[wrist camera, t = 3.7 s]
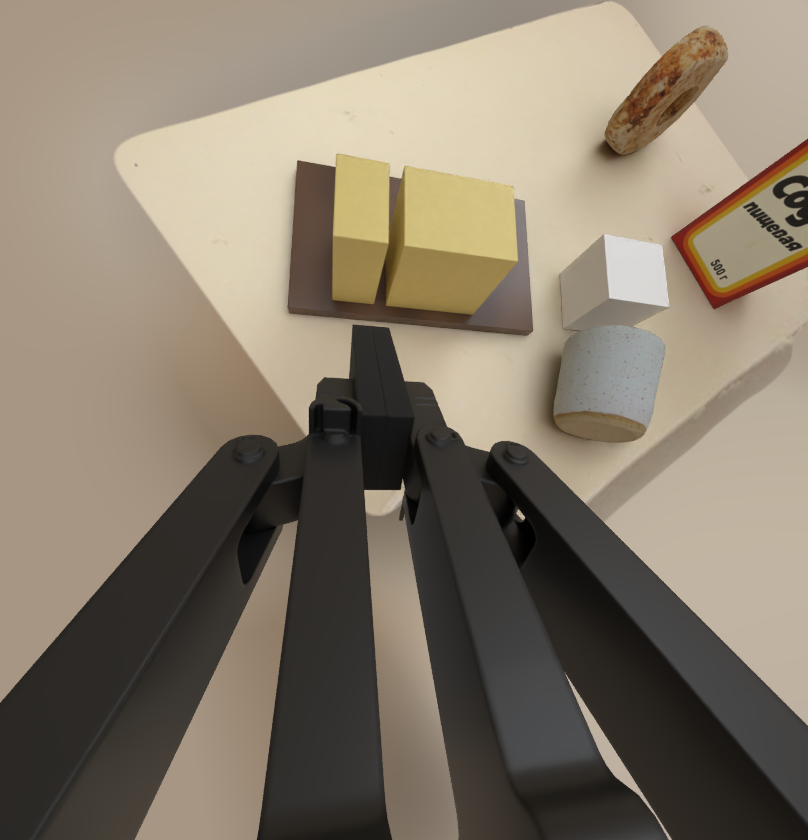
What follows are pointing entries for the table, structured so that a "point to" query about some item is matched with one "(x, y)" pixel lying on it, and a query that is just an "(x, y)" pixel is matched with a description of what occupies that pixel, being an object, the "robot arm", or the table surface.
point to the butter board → (315, 263)
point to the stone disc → (667, 90)
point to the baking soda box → (752, 232)
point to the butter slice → (359, 228)
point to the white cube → (614, 284)
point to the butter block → (449, 241)
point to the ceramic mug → (608, 383)
